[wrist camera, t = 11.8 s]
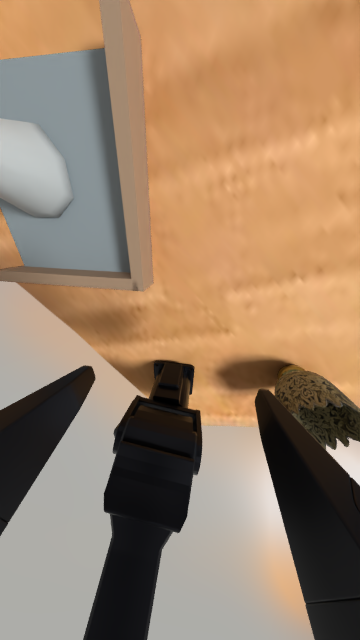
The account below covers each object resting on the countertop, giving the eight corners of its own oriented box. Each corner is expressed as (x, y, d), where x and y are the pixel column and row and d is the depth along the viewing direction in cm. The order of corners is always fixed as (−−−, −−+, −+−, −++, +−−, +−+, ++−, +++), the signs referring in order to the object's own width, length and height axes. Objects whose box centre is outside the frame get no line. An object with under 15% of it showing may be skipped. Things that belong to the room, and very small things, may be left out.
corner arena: (153, 283, 19) (143, 291, 16) (27, 274, 21) (-2, 280, 18) (140, 36, 11) (116, -41, 8) (-62, 60, 13) (-143, 5, 10)
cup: (255, 360, 23) (278, 415, 16) (314, 345, 20) (372, 401, 13) (269, 394, 25) (294, 453, 18) (322, 383, 23) (375, 448, 16)
